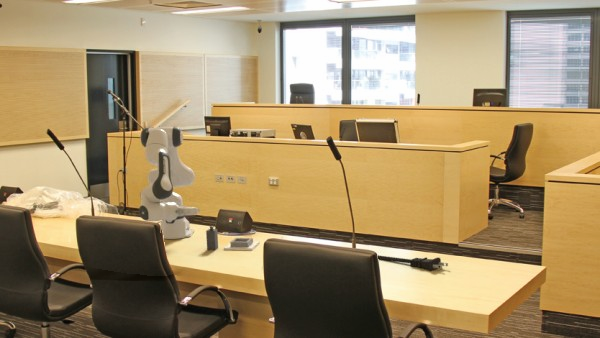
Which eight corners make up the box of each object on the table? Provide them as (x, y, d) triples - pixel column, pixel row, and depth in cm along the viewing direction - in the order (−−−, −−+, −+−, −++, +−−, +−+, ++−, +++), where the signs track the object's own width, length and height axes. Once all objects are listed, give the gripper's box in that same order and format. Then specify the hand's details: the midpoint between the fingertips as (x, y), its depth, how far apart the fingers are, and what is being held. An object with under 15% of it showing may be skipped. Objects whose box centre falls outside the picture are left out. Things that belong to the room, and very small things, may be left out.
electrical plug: (439, 273, 323) (439, 262, 323) (364, 263, 351) (363, 252, 351) (450, 269, 330) (449, 258, 329) (375, 259, 357) (374, 249, 357)
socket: (232, 243, 392) (232, 236, 392) (259, 243, 389) (259, 237, 389) (223, 249, 378) (223, 243, 377) (252, 250, 375) (251, 243, 374)
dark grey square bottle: (209, 247, 383) (208, 225, 382) (218, 247, 382) (217, 225, 381) (207, 249, 379) (205, 227, 377) (215, 250, 378) (214, 227, 376)
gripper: (183, 205, 352) (205, 204, 362) (157, 203, 366) (180, 202, 376) (183, 218, 352) (205, 217, 363) (157, 216, 366) (180, 214, 377)
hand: (192, 209), depth 370 cm, fingers open, 8 cm apart
